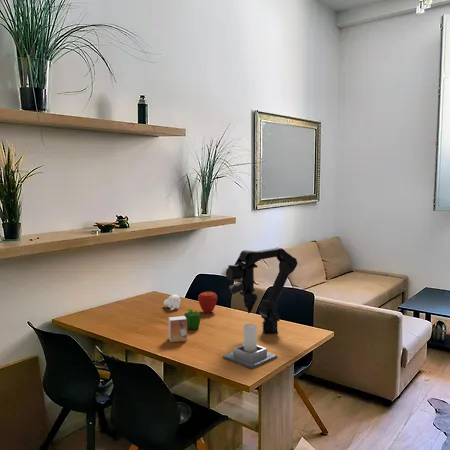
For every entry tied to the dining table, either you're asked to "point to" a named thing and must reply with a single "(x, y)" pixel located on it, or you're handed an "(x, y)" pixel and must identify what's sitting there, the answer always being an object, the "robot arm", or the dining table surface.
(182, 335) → the small box
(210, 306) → the apple
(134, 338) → the dining table surface
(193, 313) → the bell pepper
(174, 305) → the white animal figurine
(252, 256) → the robot arm
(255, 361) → the duct collar
